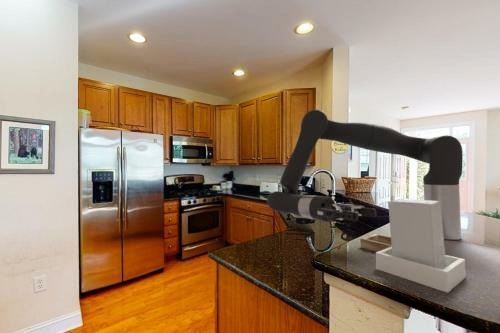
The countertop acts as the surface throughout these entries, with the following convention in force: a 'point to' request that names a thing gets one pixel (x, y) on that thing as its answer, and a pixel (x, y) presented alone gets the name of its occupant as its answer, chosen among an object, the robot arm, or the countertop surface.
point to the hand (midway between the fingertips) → (367, 215)
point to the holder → (376, 242)
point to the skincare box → (417, 231)
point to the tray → (423, 270)
